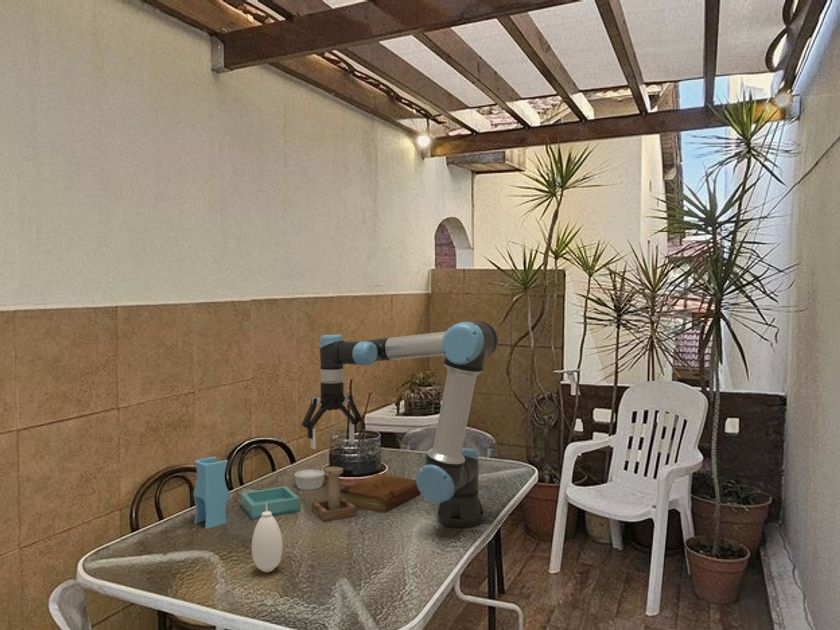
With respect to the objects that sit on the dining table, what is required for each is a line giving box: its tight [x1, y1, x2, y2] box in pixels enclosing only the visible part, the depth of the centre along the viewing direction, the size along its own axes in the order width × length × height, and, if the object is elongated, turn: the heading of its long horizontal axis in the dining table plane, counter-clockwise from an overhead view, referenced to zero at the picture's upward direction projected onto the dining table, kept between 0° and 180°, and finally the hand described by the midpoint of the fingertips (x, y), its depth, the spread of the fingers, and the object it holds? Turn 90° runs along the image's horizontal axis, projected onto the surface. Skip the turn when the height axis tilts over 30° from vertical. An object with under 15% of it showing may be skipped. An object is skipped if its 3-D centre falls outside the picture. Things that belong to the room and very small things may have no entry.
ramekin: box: [293, 469, 325, 491], centre depth 238 cm, size 11×11×5 cm
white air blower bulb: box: [251, 502, 284, 573], centre depth 163 cm, size 8×8×18 cm
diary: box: [339, 473, 421, 514], centre depth 221 cm, size 23×19×6 cm
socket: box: [311, 496, 358, 523], centre depth 206 cm, size 12×11×3 cm
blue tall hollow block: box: [192, 456, 230, 530], centre depth 199 cm, size 8×8×20 cm
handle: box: [323, 466, 344, 510], centre depth 206 cm, size 5×6×15 cm
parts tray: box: [240, 485, 301, 521], centre depth 212 cm, size 16×16×4 cm
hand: (332, 445), depth 206 cm, fingers open, 13 cm apart
